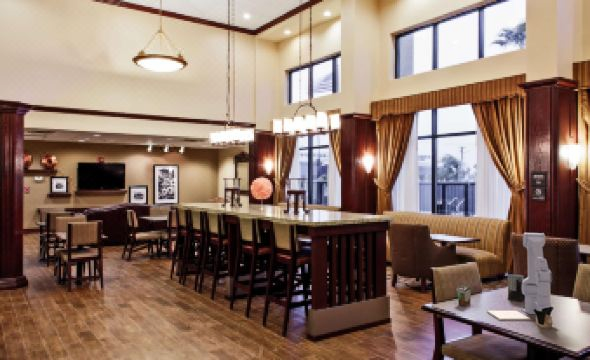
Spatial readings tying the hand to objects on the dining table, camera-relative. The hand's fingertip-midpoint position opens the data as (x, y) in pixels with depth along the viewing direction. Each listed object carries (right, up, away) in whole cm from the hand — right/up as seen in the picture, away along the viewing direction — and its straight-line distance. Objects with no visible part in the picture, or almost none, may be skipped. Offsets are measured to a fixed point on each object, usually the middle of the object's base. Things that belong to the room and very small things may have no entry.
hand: (543, 322), depth 212 cm
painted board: (-10, -2, +15) cm, 18 cm away
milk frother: (+15, -2, +46) cm, 49 cm away
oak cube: (0, -1, 0) cm, 1 cm away
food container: (-26, -2, +38) cm, 45 cm away
